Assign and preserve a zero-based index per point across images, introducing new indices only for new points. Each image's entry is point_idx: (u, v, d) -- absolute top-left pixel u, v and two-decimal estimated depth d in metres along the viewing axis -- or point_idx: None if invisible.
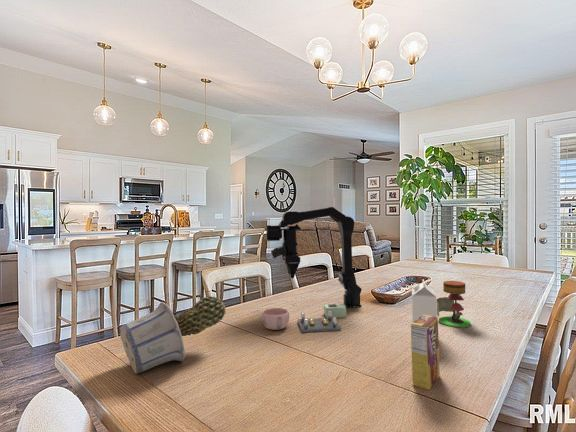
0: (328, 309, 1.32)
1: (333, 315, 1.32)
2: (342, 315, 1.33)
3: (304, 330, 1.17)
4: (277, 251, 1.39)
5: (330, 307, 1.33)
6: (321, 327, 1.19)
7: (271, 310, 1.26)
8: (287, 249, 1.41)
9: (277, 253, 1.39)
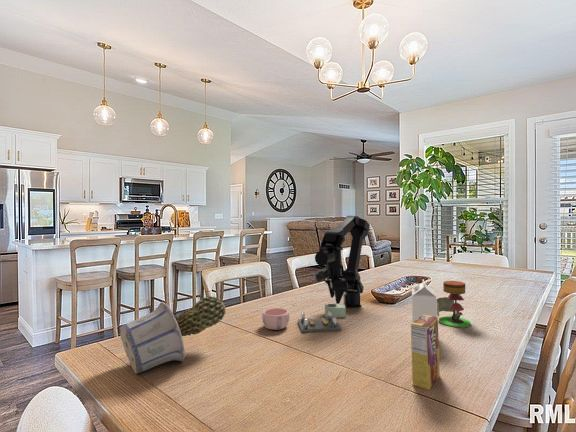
0: (327, 309, 1.33)
1: (332, 315, 1.33)
2: (341, 315, 1.32)
3: (304, 330, 1.17)
4: (322, 274, 1.30)
5: (330, 307, 1.33)
6: (321, 327, 1.19)
7: (271, 310, 1.26)
8: (332, 272, 1.32)
9: (322, 277, 1.30)
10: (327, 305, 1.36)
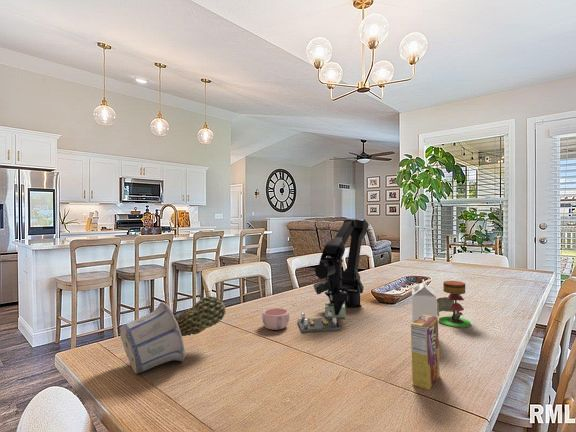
0: (327, 308, 1.33)
1: (332, 314, 1.33)
2: (341, 315, 1.32)
3: (304, 330, 1.17)
4: (322, 287, 1.30)
5: (329, 306, 1.33)
6: (321, 327, 1.19)
7: (271, 310, 1.26)
8: (332, 285, 1.32)
9: (322, 289, 1.30)
10: (327, 304, 1.36)
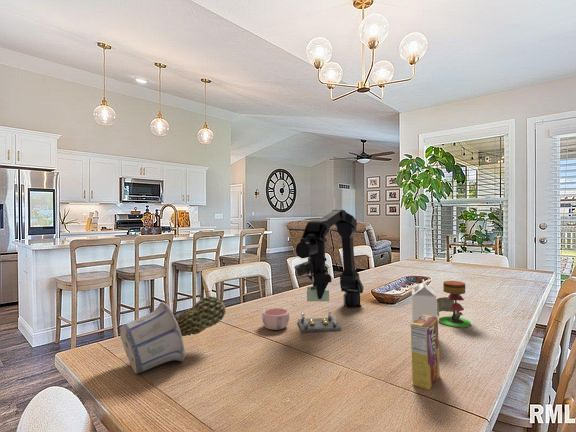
0: (309, 291, 1.21)
1: (314, 298, 1.21)
2: (324, 299, 1.20)
3: (304, 330, 1.17)
4: (303, 268, 1.18)
5: (312, 289, 1.21)
6: (321, 327, 1.19)
7: (271, 310, 1.26)
8: (314, 265, 1.20)
9: (303, 270, 1.18)
10: (310, 288, 1.24)
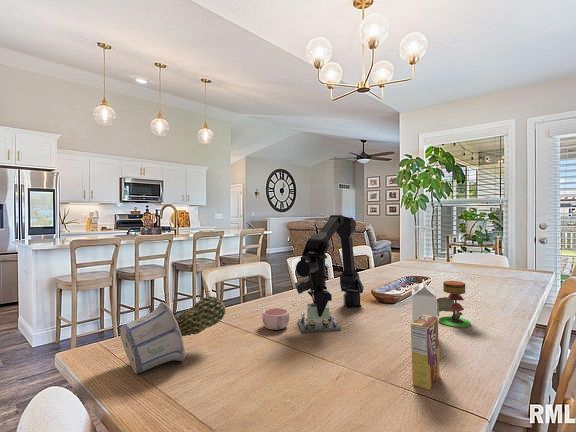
0: (309, 309, 1.21)
1: (315, 315, 1.21)
2: (325, 316, 1.20)
3: (304, 330, 1.17)
4: (303, 286, 1.18)
5: (312, 307, 1.21)
6: (321, 327, 1.19)
7: (271, 310, 1.26)
8: (315, 283, 1.20)
9: (303, 288, 1.18)
10: (310, 305, 1.24)
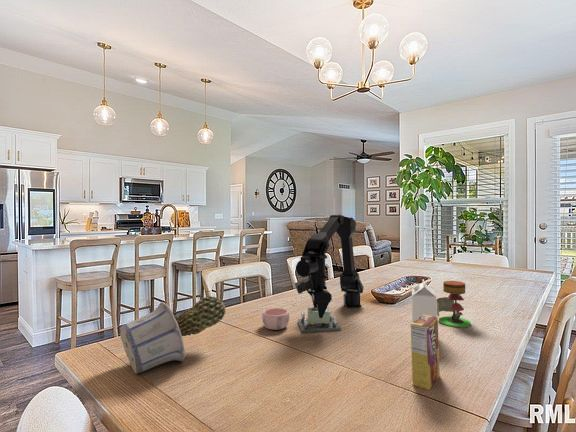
0: (310, 313, 1.21)
1: (315, 320, 1.21)
2: (325, 320, 1.20)
3: (304, 330, 1.17)
4: (303, 286, 1.18)
5: (312, 311, 1.21)
6: (321, 327, 1.19)
7: (271, 310, 1.26)
8: (315, 283, 1.20)
9: (303, 288, 1.18)
10: (310, 309, 1.24)
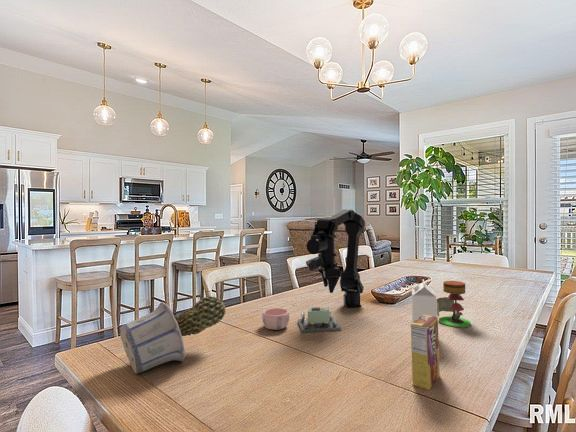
0: (310, 313, 1.21)
1: (315, 320, 1.21)
2: (325, 320, 1.20)
3: (304, 330, 1.17)
4: (314, 263, 1.26)
5: (312, 311, 1.21)
6: (321, 327, 1.19)
7: (271, 310, 1.26)
8: (325, 260, 1.28)
9: (314, 265, 1.26)
10: (310, 309, 1.24)
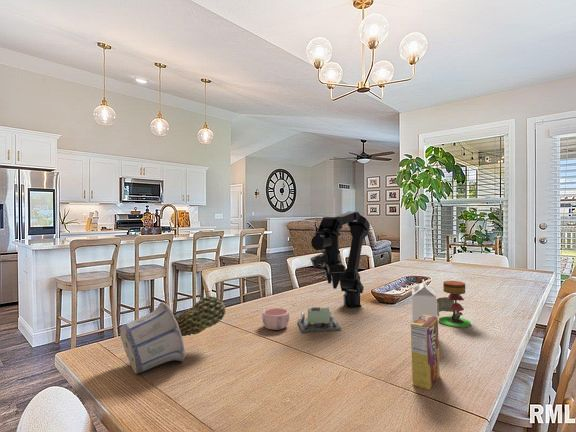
0: (310, 313, 1.21)
1: (315, 320, 1.21)
2: (325, 320, 1.20)
3: (304, 330, 1.17)
4: (319, 259, 1.29)
5: (312, 311, 1.21)
6: (321, 327, 1.19)
7: (271, 310, 1.26)
8: (329, 257, 1.32)
9: (319, 261, 1.29)
10: (310, 309, 1.24)
